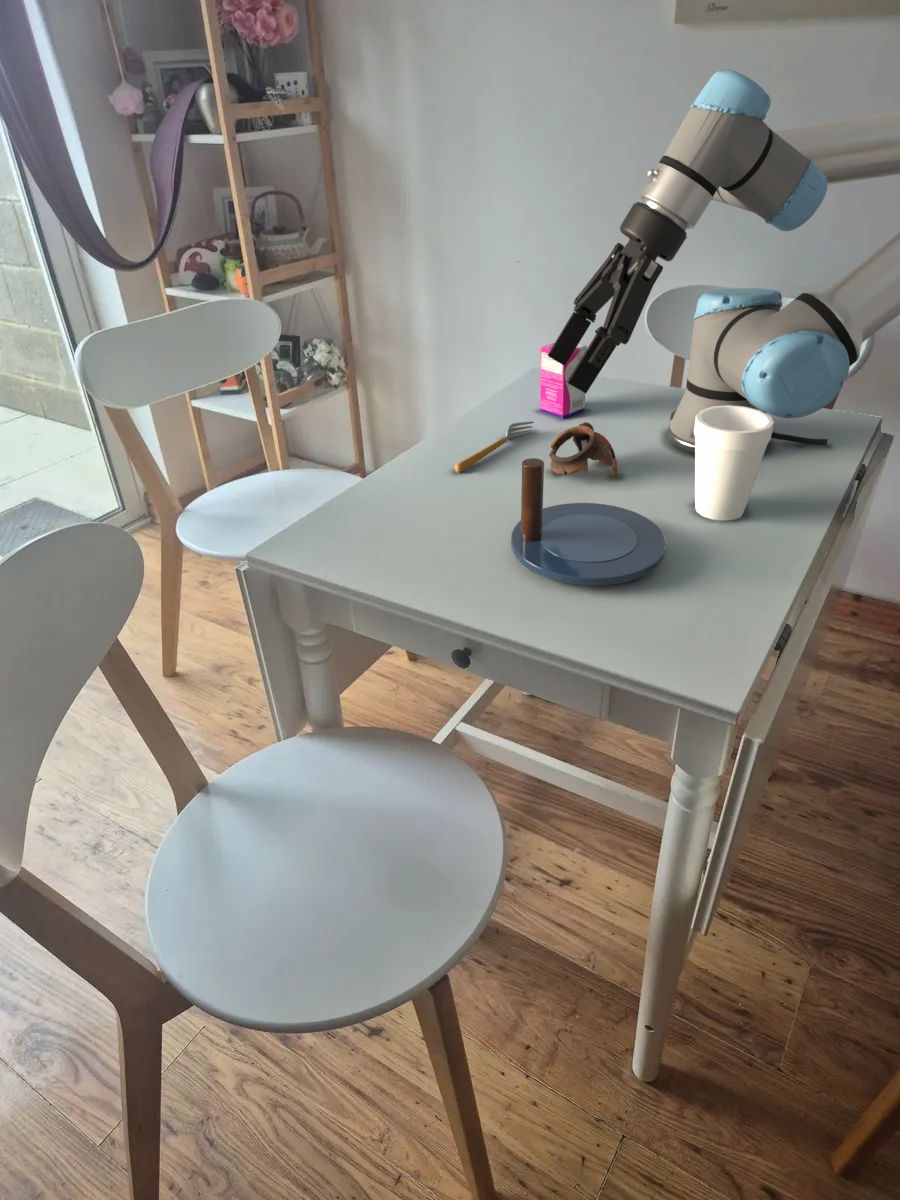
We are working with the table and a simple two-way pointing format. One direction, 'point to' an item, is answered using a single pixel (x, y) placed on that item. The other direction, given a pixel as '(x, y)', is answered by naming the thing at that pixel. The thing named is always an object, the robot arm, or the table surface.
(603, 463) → the broken brown clay pot
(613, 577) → the blue disc with rod
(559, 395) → the supplement box
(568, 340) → the robot arm
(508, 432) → the fork
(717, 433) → the foam cup
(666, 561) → the table surface
